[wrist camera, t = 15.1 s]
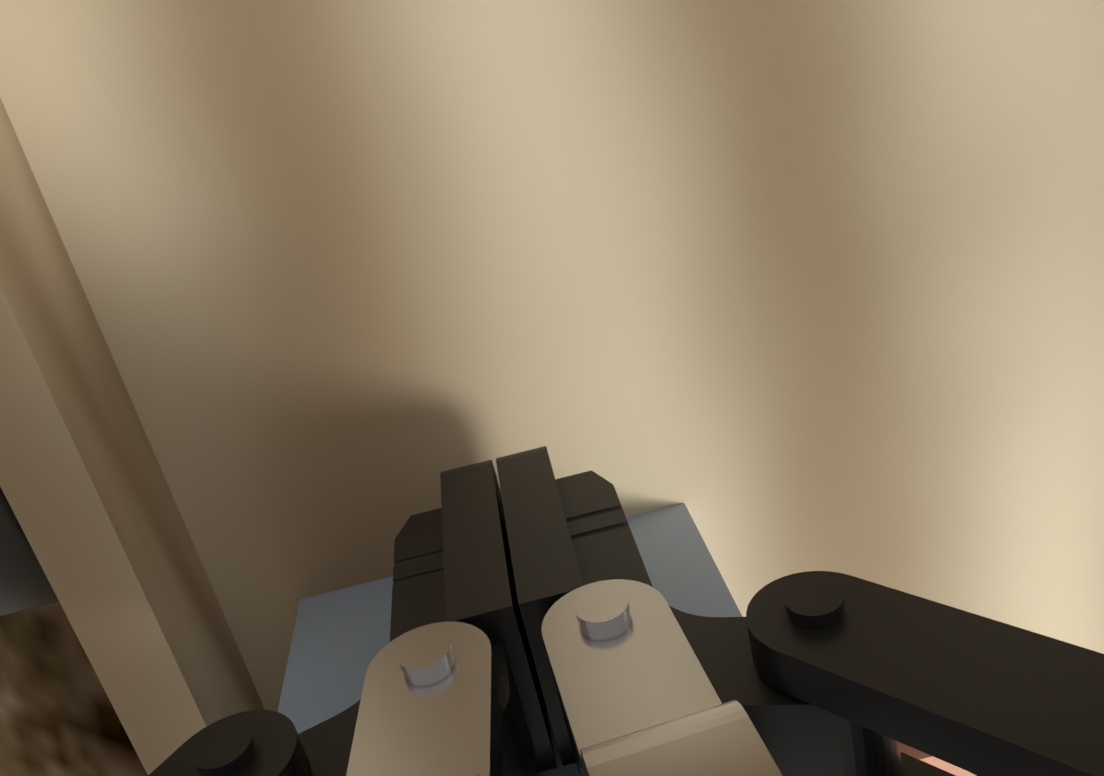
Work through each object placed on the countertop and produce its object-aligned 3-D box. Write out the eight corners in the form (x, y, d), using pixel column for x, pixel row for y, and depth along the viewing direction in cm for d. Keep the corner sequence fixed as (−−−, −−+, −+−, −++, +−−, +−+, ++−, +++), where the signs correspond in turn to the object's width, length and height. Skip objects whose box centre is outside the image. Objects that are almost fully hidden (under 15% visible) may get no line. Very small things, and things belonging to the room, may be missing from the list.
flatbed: (1612, -513, 14) (2190, -759, 9) (1443, 521, 21) (1731, 670, 16) (-256, -71, 13) (-613, -103, 9) (205, 850, 20) (141, 1104, 16)
